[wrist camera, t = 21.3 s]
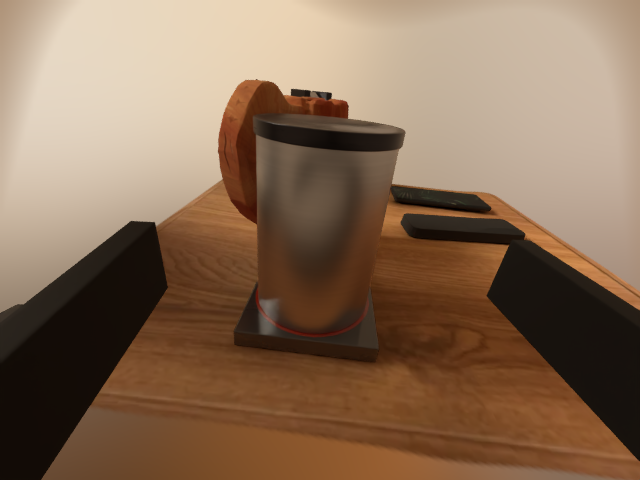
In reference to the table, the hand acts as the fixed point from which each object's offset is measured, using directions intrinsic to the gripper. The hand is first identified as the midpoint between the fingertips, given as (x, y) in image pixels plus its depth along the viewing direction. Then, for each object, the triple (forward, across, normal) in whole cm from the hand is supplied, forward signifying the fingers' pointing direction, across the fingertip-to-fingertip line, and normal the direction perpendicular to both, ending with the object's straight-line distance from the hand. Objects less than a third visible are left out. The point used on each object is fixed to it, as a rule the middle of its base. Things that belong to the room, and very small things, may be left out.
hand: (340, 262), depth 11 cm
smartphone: (+35, +22, -9) cm, 42 cm away
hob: (+8, 0, -9) cm, 12 cm away
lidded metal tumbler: (+8, 0, -8) cm, 11 cm away
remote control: (+23, +20, -9) cm, 32 cm away
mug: (+17, -2, -9) cm, 19 cm away
